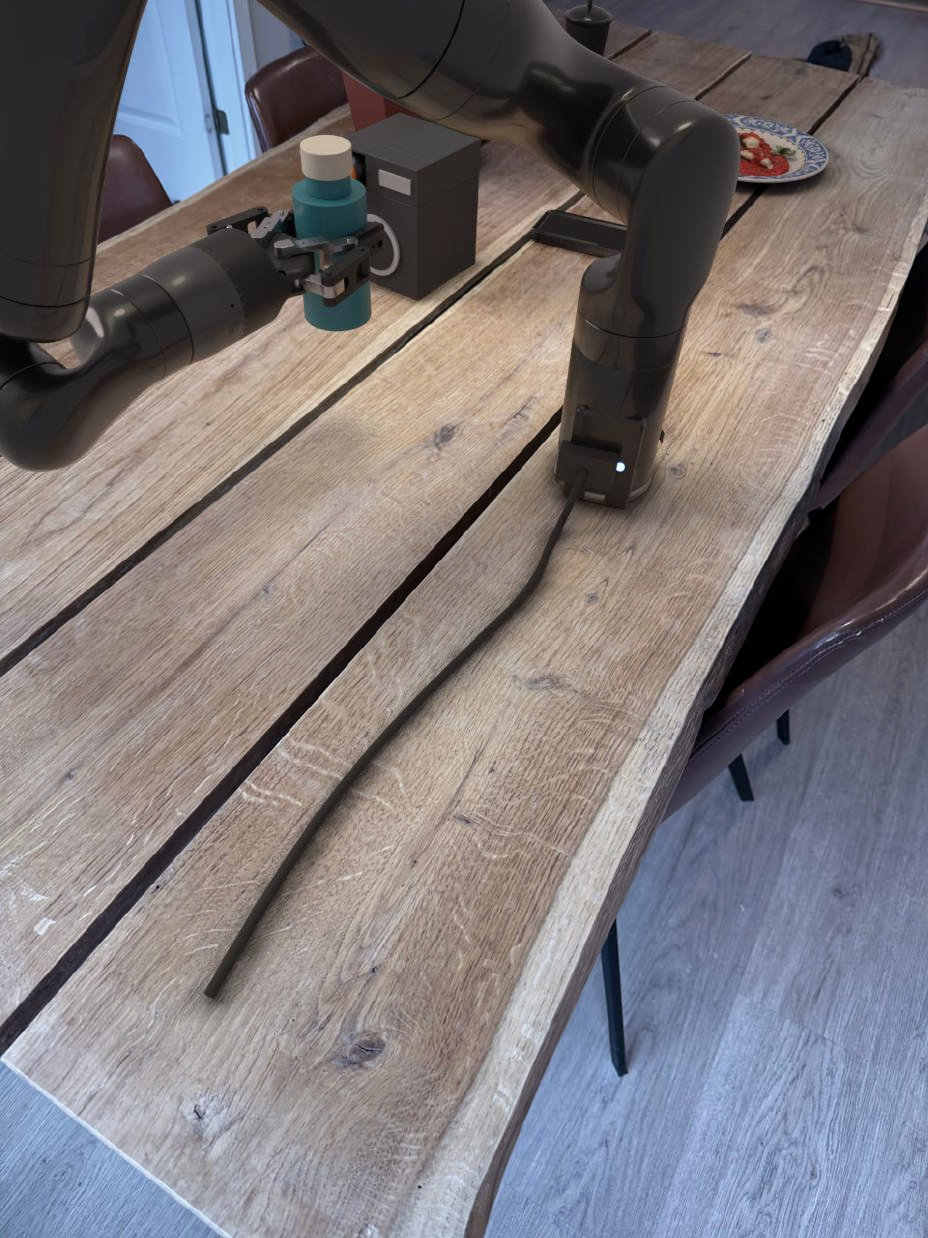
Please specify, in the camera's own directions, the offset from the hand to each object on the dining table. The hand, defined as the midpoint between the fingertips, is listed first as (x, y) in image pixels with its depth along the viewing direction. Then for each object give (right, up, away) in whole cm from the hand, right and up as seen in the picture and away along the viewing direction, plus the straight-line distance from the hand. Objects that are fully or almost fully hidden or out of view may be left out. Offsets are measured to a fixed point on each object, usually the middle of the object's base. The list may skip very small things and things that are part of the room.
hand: (350, 222), depth 78 cm
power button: (-3, +15, +26) cm, 30 cm away
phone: (+27, +16, +43) cm, 53 cm away
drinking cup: (+29, +52, +75) cm, 96 cm away
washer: (+3, +10, +36) cm, 38 cm away
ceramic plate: (+52, +37, +63) cm, 90 cm away
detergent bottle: (-2, -6, +4) cm, 8 cm away
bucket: (+2, +35, +59) cm, 68 cm away
